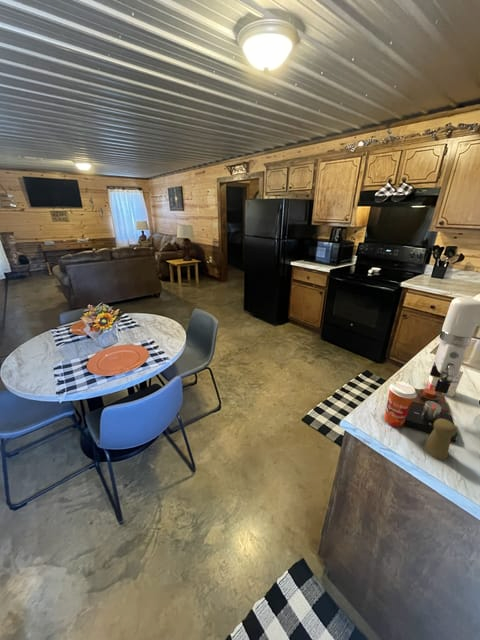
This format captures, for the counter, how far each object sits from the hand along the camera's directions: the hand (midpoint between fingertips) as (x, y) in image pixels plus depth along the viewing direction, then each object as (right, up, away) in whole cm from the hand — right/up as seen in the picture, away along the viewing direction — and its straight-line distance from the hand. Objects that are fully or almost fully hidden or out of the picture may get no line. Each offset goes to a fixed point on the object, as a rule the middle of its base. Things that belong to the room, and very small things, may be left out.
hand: (437, 383), depth 87 cm
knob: (-2, -12, +1) cm, 12 cm away
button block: (+5, -10, +13) cm, 17 cm away
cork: (-7, -19, -8) cm, 21 cm away
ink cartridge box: (+16, -8, +20) cm, 27 cm away
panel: (-2, -14, +2) cm, 15 cm away
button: (+5, -7, +11) cm, 14 cm away
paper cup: (-13, -14, +3) cm, 19 cm away
